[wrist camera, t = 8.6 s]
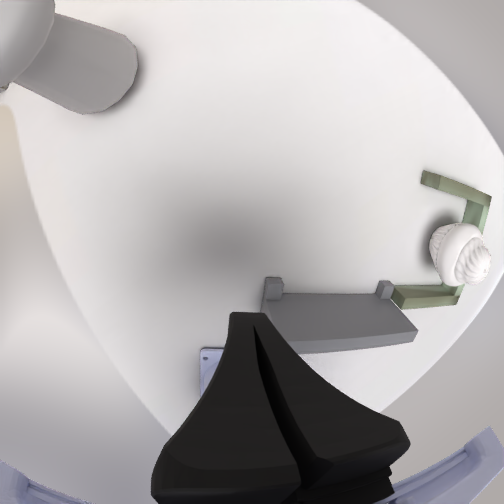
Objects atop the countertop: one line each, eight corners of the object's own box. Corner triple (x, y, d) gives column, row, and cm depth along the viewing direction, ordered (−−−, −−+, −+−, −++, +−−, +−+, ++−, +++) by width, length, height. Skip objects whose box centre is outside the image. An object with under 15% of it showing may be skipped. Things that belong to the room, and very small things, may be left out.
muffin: (441, 199, 21) (495, 223, 15) (464, 232, 23) (509, 259, 16) (408, 251, 23) (455, 288, 16) (434, 278, 25) (475, 313, 18)
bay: (444, 294, 26) (456, 304, 24) (388, 296, 24) (401, 309, 22) (476, 190, 21) (491, 196, 19) (423, 170, 20) (441, 175, 17)
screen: (376, 315, 25) (406, 354, 20) (259, 318, 23) (272, 368, 18) (389, 280, 24) (425, 316, 18) (266, 277, 22) (282, 324, 16)
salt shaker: (151, 37, 13) (74, -67, 2) (143, 111, 16) (24, 78, 4) (78, 51, 13) (-38, 2, 1) (71, 120, 15) (-69, 130, 3)
